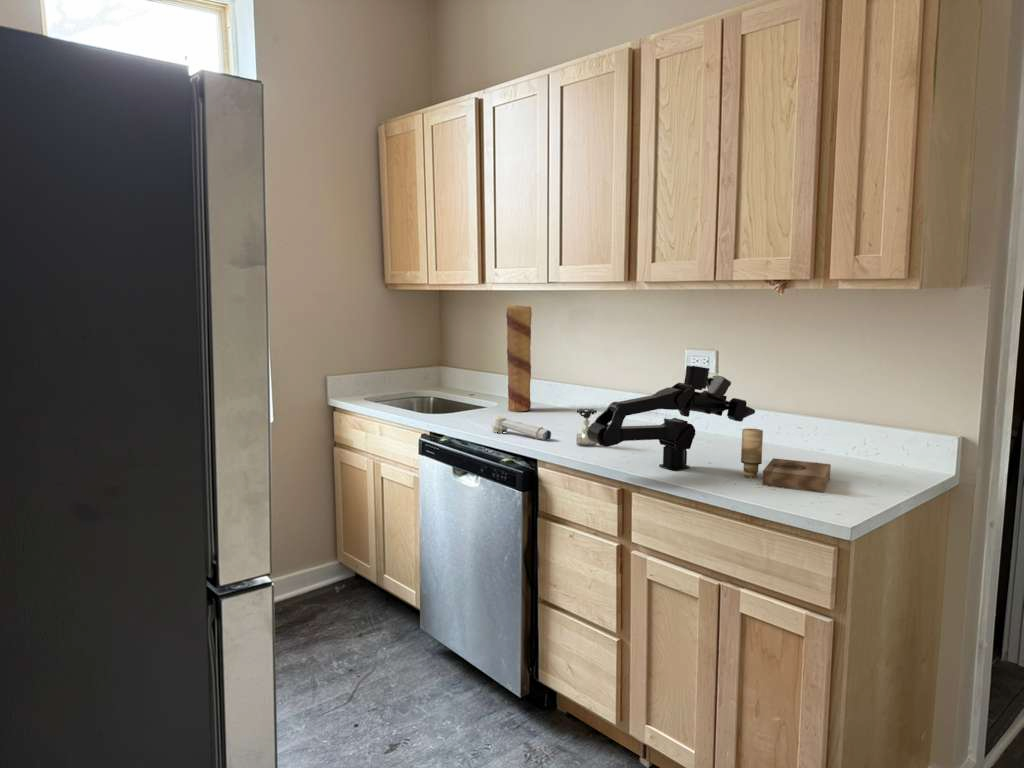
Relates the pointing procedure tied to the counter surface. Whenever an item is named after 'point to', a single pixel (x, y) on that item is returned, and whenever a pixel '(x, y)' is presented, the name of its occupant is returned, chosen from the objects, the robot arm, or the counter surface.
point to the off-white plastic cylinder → (520, 428)
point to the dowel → (751, 451)
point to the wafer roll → (519, 357)
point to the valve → (585, 427)
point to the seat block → (797, 475)
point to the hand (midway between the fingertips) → (744, 408)
